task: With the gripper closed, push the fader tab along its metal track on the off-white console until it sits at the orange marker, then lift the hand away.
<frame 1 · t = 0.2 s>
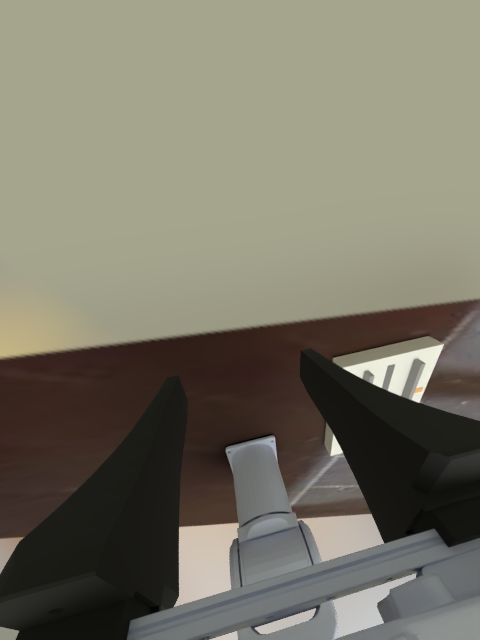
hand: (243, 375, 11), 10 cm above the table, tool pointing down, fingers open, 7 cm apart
console: (369, 397, 31), on the table
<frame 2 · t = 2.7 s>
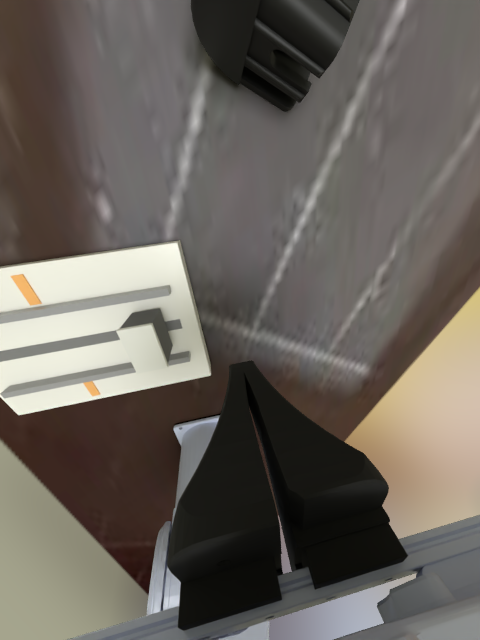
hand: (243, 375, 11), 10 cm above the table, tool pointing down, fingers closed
fader tab: (149, 339, 17), point 4 cm above the table, slide at 0.0 cm
console: (97, 329, 20), on the table
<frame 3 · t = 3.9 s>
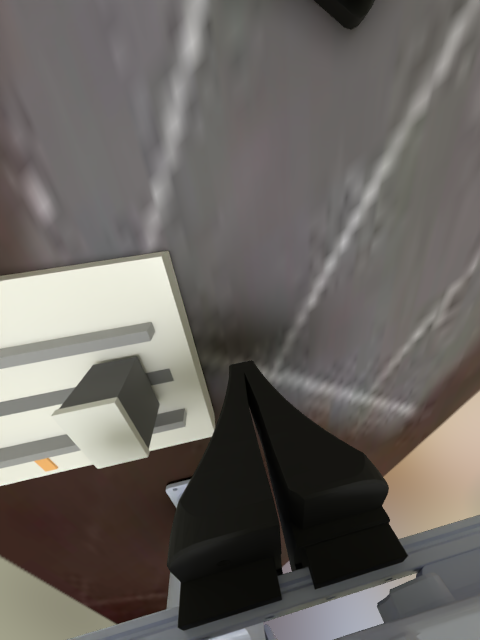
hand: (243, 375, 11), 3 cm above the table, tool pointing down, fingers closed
fader tab: (118, 408, 10), point 4 cm above the table, slide at 0.0 cm
console: (50, 379, 13), on the table
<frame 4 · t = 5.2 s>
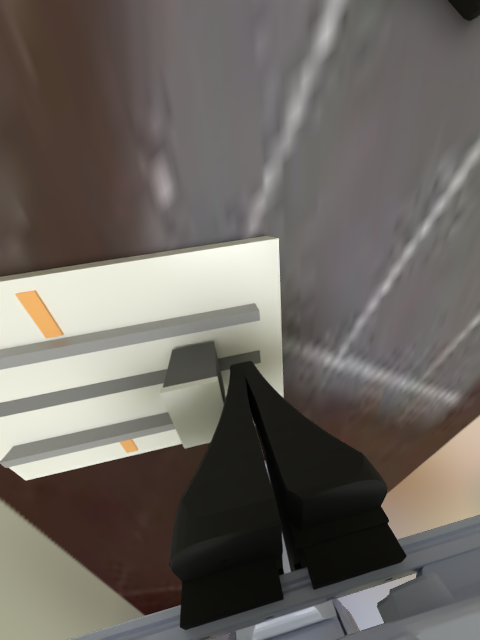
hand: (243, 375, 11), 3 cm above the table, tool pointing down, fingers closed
fader tab: (200, 391, 11), point 4 cm above the table, slide at 1.4 cm, touching gripper
console: (136, 363, 14), on the table
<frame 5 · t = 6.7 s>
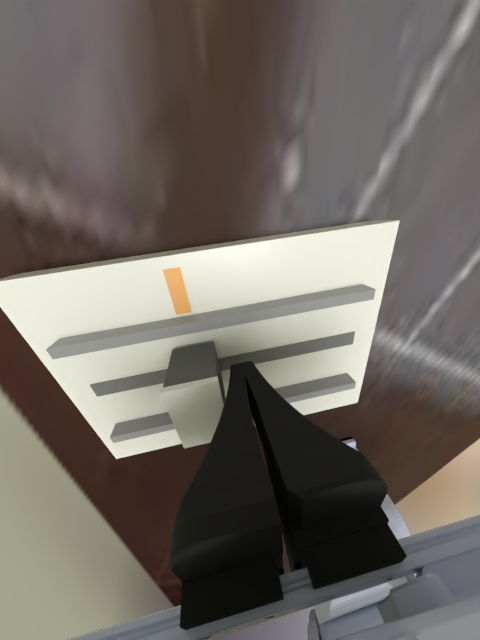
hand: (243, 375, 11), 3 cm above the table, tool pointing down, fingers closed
fader tab: (200, 391, 11), point 4 cm above the table, slide at 8.0 cm, touching gripper
console: (227, 345, 14), on the table
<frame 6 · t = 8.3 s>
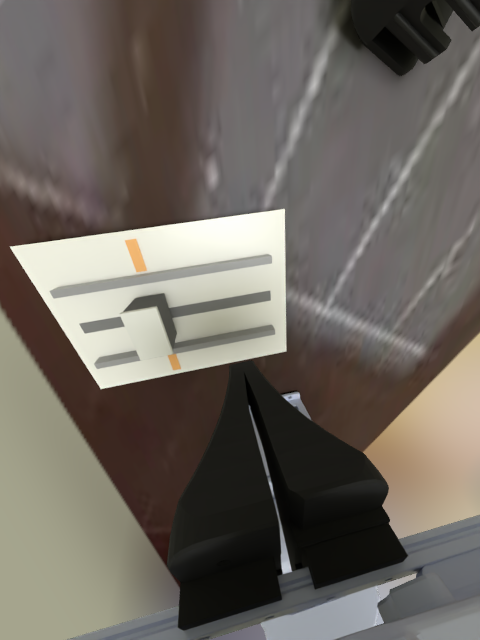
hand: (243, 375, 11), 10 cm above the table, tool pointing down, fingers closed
fader tab: (153, 325, 16), point 4 cm above the table, slide at 8.0 cm
console: (182, 303, 20), on the table
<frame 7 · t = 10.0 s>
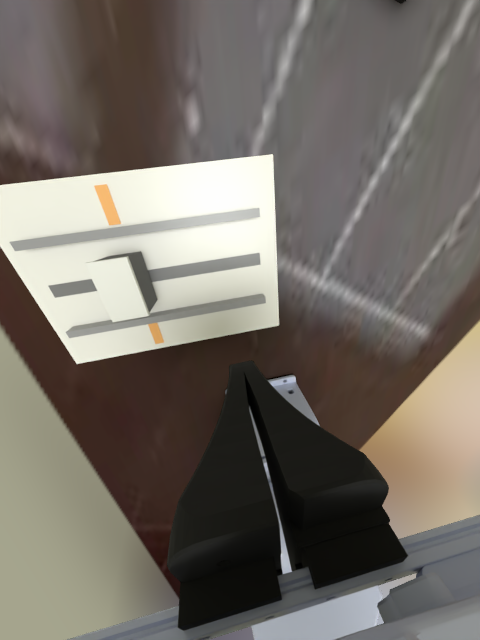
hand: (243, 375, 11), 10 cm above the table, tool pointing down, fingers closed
fader tab: (127, 284, 14), point 4 cm above the table, slide at 8.0 cm
console: (164, 269, 18), on the table
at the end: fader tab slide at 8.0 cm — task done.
